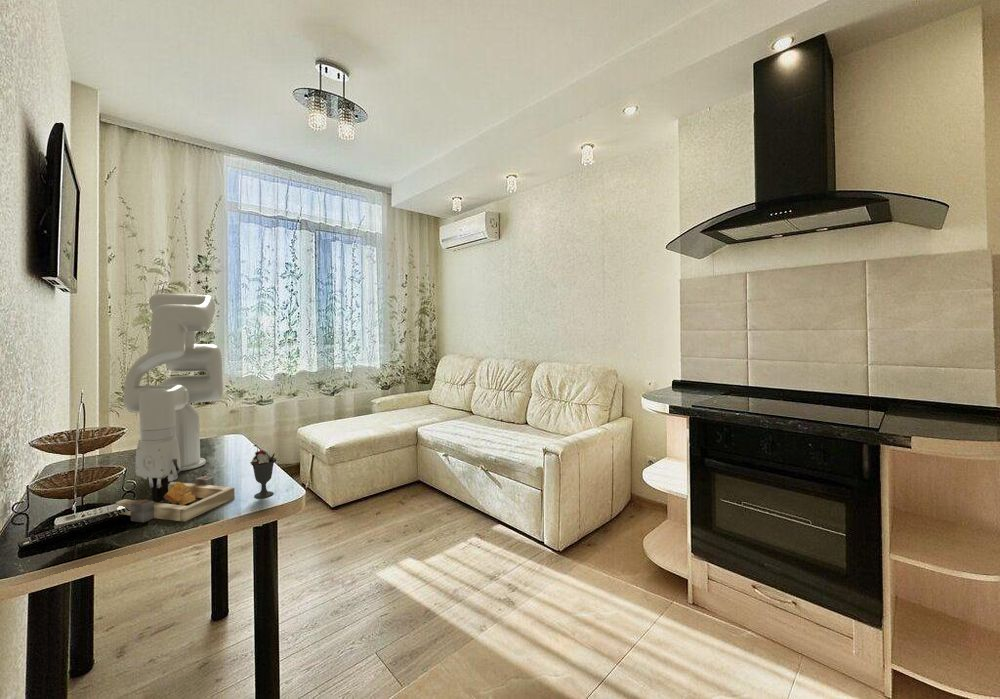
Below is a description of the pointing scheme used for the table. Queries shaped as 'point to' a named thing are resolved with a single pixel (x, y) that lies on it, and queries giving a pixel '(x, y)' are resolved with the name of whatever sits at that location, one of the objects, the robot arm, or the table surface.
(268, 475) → the sundae
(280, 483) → the table surface
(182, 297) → the robot arm
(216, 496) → the light wooden frame
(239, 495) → the table surface
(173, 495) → the pyrite
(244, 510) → the table surface
